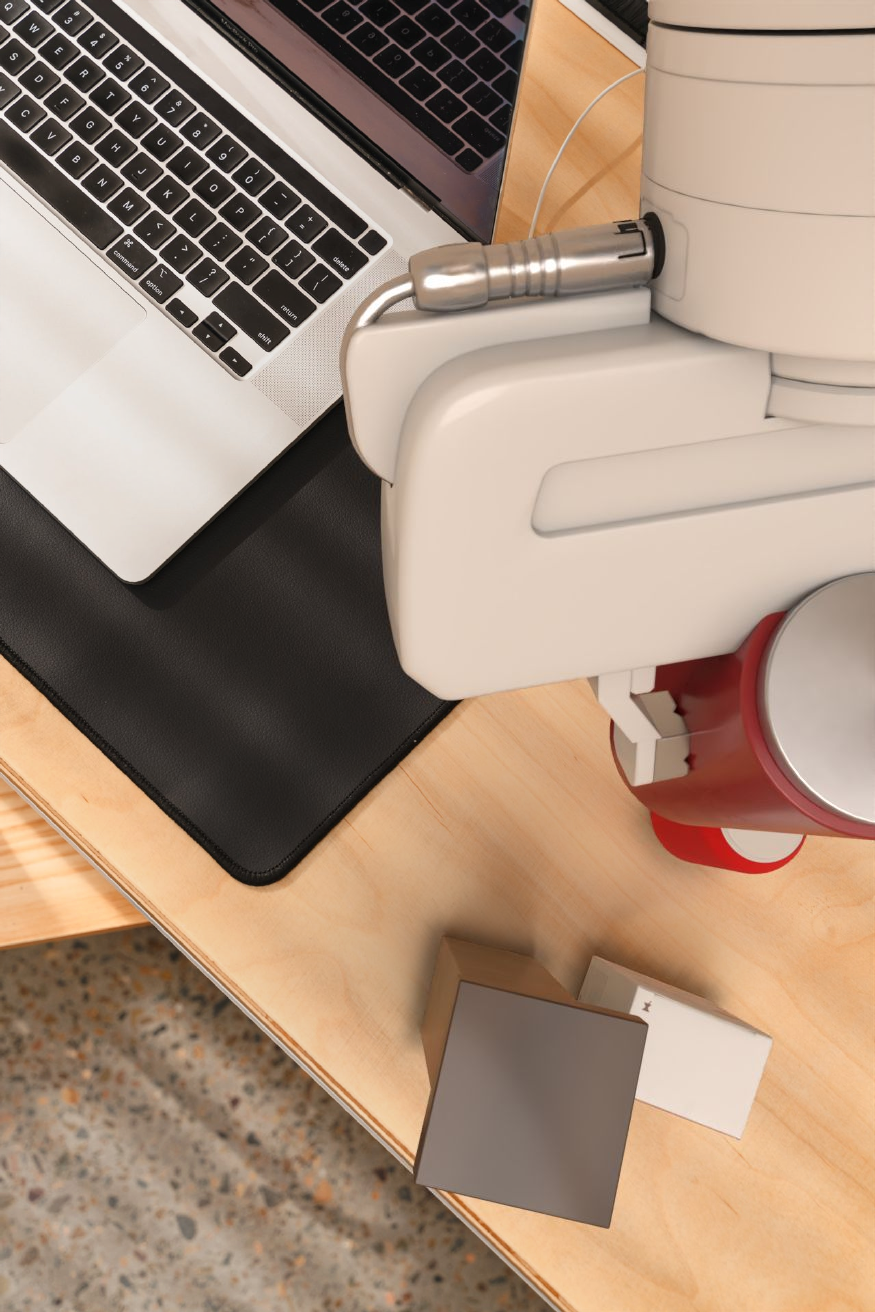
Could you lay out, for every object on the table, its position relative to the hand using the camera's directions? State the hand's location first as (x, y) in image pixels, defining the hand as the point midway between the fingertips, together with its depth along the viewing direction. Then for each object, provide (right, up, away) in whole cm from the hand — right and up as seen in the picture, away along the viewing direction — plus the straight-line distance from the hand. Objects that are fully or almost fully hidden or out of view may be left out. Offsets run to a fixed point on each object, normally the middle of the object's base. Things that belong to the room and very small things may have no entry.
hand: (781, 742), depth 26 cm
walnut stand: (-7, -19, +34) cm, 40 cm away
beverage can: (+7, -8, +37) cm, 39 cm away
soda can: (-1, 0, +7) cm, 7 cm away
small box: (+3, -20, +35) cm, 41 cm away
